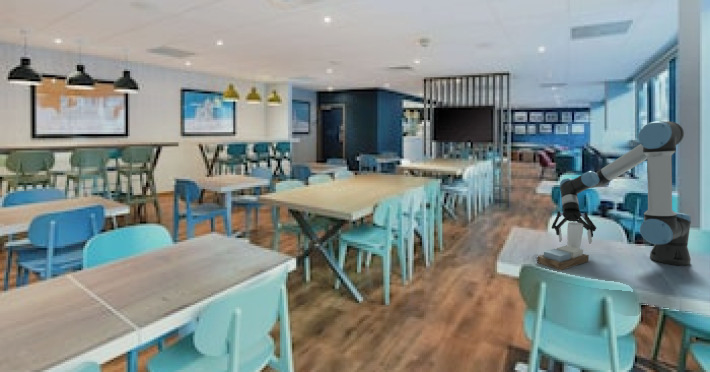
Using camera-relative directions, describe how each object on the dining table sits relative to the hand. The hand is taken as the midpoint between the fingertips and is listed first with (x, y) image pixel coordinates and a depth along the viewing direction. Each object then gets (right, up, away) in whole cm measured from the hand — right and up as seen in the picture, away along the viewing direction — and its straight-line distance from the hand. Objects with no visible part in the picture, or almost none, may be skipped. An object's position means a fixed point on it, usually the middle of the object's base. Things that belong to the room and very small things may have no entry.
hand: (575, 241), depth 199 cm
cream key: (-7, -6, -8) cm, 12 cm away
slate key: (-15, -6, -13) cm, 21 cm away
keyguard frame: (-11, -8, -10) cm, 17 cm away
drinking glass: (+1, -6, +3) cm, 7 cm away
